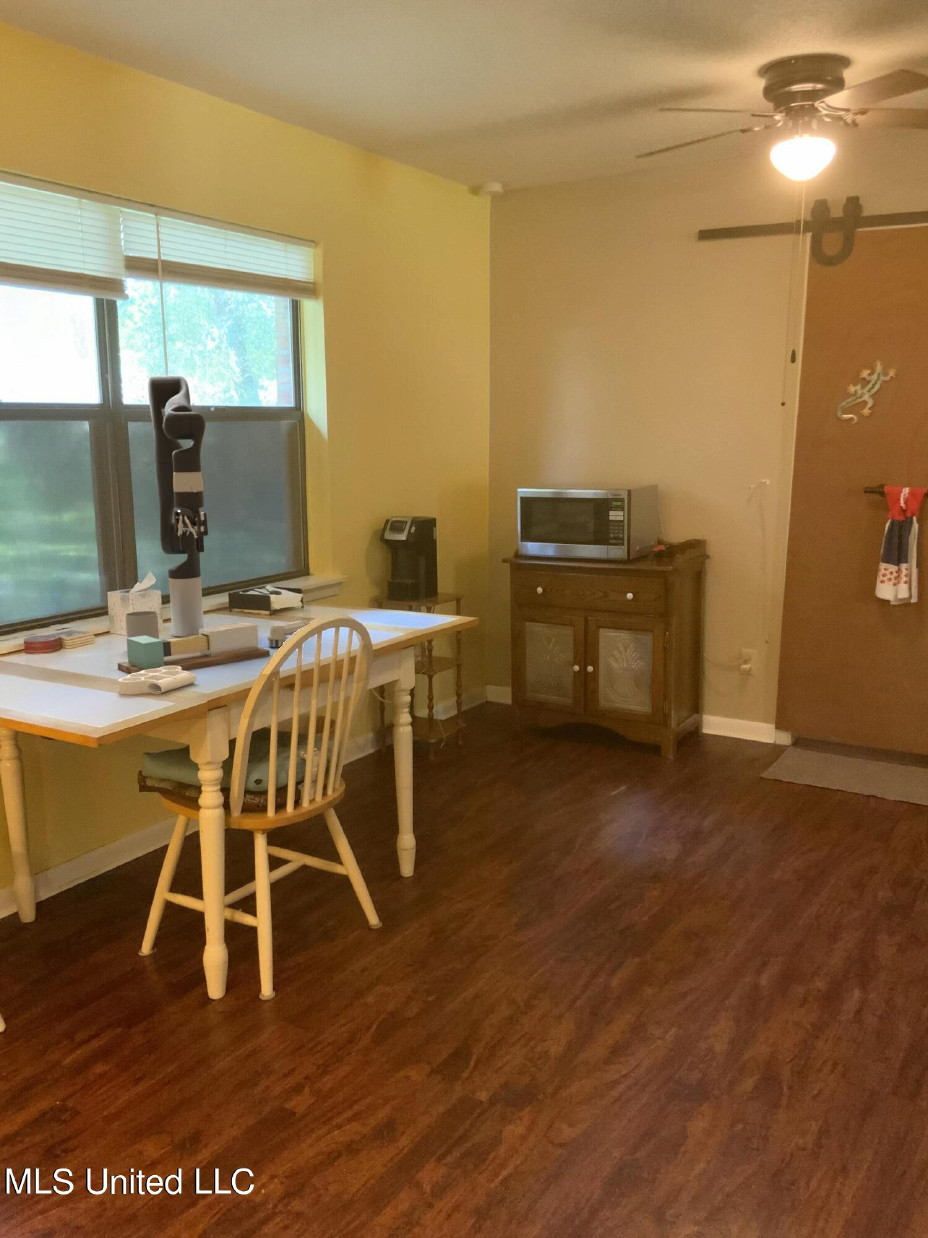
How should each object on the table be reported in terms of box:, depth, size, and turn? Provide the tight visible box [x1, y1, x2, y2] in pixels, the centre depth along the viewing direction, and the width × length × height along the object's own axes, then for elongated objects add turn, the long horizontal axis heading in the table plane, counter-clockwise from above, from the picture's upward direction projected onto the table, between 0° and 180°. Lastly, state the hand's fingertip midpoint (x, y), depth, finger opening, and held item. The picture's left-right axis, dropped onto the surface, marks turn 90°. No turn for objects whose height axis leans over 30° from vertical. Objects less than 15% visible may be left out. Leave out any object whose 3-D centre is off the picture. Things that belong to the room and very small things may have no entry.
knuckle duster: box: [117, 666, 198, 695], centre depth 243 cm, size 3×18×15 cm
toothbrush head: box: [266, 619, 310, 648], centre depth 297 cm, size 5×7×25 cm
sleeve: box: [199, 621, 260, 656], centre depth 274 cm, size 6×14×6 cm, turn 131°
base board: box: [117, 646, 271, 674], centre depth 269 cm, size 14×36×2 cm, turn 131°
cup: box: [125, 610, 160, 640], centre depth 287 cm, size 8×8×10 cm
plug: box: [161, 634, 209, 657], centre depth 266 cm, size 4×22×4 cm, turn 131°
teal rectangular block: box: [126, 635, 164, 669], centre depth 259 cm, size 10×5×6 cm, turn 41°
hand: (192, 551), depth 273 cm, fingers open, 8 cm apart
